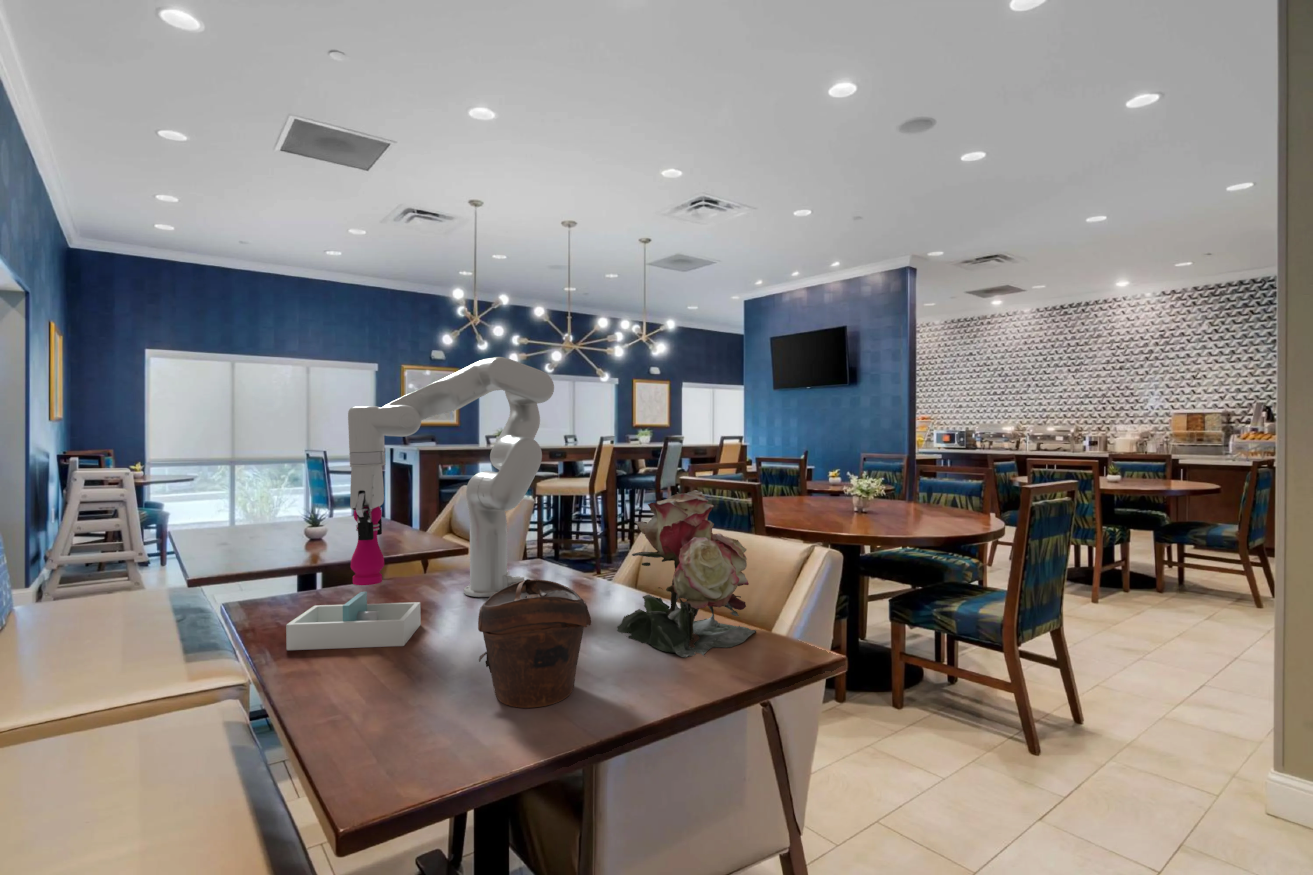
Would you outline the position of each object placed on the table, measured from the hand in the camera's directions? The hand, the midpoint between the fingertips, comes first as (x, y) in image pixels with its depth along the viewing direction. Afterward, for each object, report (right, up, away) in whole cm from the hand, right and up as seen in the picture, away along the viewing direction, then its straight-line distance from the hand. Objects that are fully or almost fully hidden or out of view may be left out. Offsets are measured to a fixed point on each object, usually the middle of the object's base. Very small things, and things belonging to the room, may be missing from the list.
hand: (370, 536), depth 154 cm
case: (+46, -19, -45) cm, 67 cm away
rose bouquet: (+74, -19, -14) cm, 78 cm away
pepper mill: (-1, -11, 0) cm, 11 cm away
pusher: (+6, -17, -17) cm, 24 cm away
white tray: (+5, -18, -17) cm, 25 cm away
